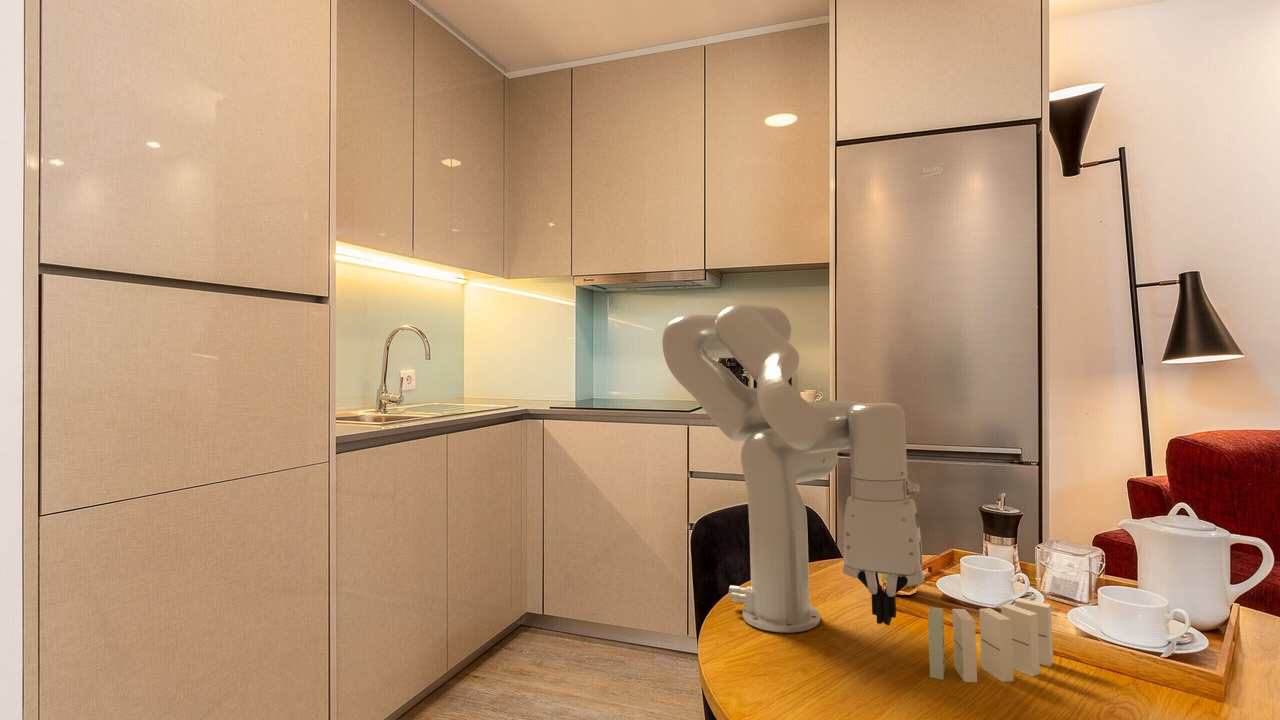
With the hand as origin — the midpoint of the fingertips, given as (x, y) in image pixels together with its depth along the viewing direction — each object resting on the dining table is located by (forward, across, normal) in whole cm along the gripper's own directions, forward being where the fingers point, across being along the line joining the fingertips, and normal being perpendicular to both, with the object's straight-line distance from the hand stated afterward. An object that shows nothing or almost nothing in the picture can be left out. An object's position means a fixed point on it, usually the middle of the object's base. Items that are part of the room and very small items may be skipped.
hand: (884, 620), depth 88 cm
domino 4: (+6, -18, -10) cm, 21 cm away
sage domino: (+6, -7, 0) cm, 9 cm away
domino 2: (+6, -14, -3) cm, 15 cm away
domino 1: (+6, -10, -1) cm, 12 cm away
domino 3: (+6, -16, -6) cm, 18 cm away
